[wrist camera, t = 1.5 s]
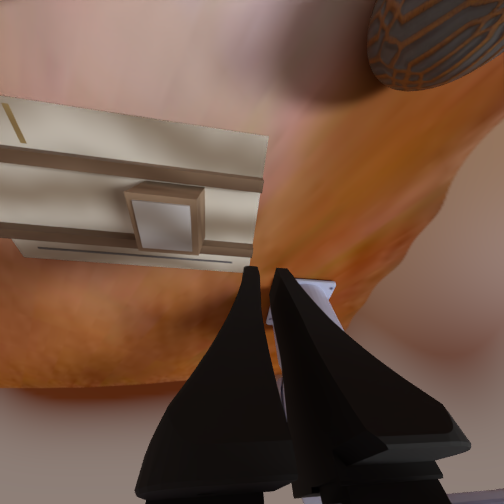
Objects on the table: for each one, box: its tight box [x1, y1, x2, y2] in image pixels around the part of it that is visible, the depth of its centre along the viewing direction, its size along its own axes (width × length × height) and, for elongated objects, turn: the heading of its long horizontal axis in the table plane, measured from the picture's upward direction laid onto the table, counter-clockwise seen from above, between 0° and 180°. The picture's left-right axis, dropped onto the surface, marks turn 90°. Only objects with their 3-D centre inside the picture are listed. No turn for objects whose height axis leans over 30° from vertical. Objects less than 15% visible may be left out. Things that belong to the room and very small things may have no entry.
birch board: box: [0, 95, 269, 273], centre depth 17 cm, size 14×24×2 cm, turn 83°
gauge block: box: [124, 180, 205, 256], centre depth 16 cm, size 5×5×4 cm
